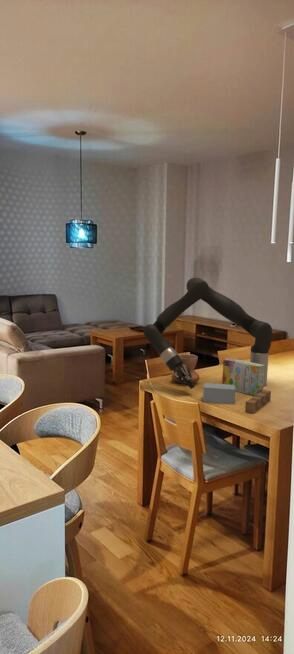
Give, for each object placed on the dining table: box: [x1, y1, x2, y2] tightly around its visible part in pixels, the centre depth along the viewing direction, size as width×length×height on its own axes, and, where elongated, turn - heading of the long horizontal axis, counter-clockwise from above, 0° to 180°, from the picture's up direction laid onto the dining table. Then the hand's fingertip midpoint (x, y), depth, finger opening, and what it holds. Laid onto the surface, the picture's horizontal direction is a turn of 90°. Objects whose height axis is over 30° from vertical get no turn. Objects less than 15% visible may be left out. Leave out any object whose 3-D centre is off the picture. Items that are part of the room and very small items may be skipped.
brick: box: [202, 382, 236, 405], centre depth 218 cm, size 8×14×7 cm, turn 83°
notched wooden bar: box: [244, 389, 272, 415], centre depth 211 cm, size 24×4×4 cm, turn 148°
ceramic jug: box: [171, 353, 200, 385], centre depth 247 cm, size 18×14×14 cm
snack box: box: [221, 357, 265, 397], centre depth 234 cm, size 21×6×15 cm, turn 44°
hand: (193, 387), depth 224 cm, fingers closed
